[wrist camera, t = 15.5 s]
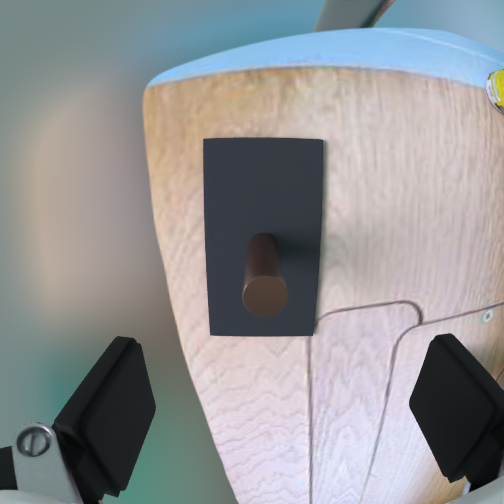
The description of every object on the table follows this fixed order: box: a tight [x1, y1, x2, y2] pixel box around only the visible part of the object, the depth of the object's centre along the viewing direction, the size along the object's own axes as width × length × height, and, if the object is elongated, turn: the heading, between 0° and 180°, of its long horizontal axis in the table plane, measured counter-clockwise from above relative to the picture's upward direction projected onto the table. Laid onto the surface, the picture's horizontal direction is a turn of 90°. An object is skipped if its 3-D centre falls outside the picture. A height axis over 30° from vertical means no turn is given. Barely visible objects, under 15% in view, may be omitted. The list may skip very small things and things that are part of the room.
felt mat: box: [203, 138, 323, 336], centre depth 29 cm, size 20×11×1 cm, turn 0°
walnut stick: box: [242, 233, 288, 317], centre depth 23 cm, size 3×3×12 cm
